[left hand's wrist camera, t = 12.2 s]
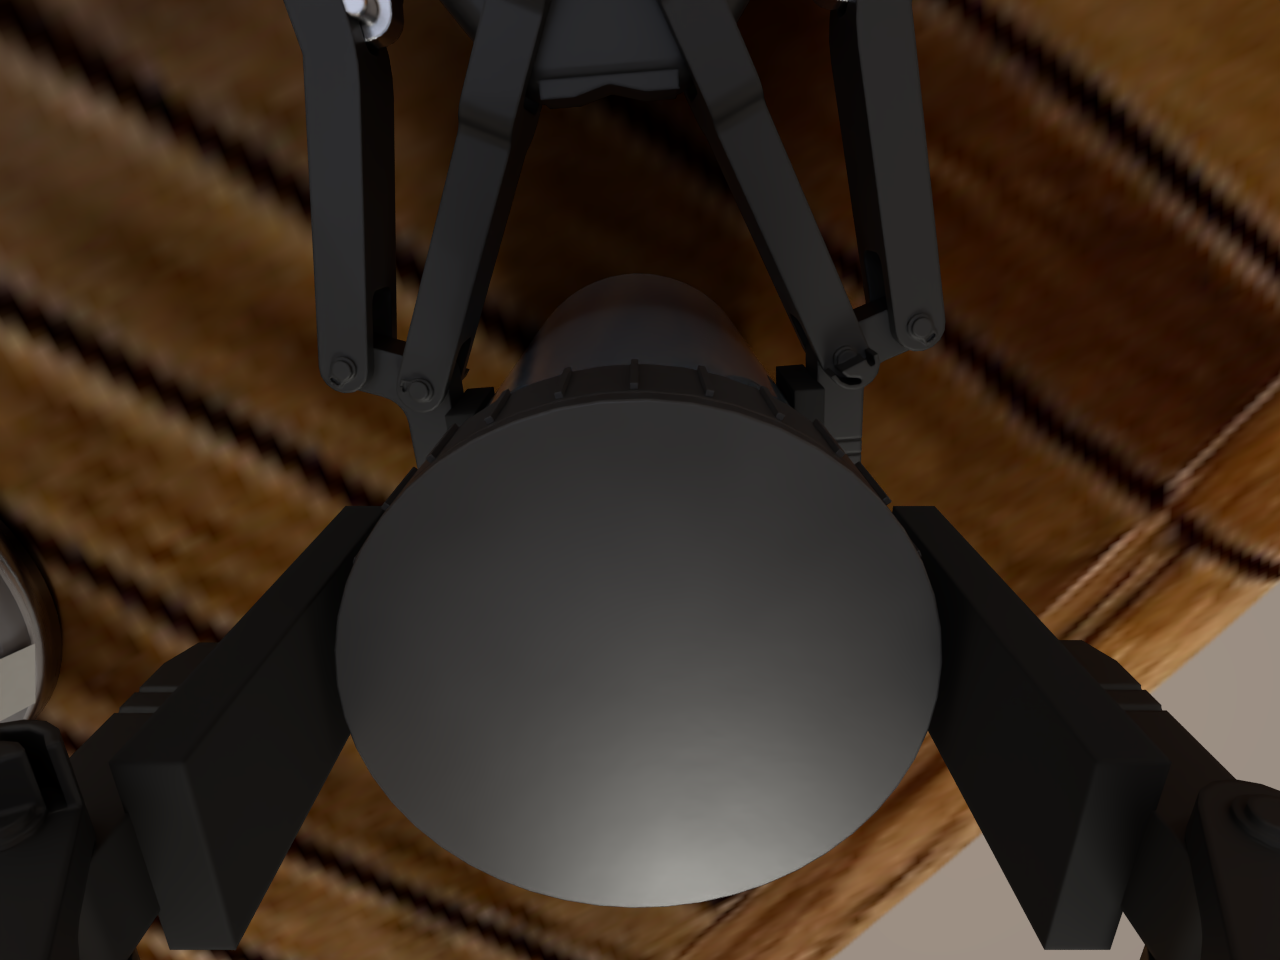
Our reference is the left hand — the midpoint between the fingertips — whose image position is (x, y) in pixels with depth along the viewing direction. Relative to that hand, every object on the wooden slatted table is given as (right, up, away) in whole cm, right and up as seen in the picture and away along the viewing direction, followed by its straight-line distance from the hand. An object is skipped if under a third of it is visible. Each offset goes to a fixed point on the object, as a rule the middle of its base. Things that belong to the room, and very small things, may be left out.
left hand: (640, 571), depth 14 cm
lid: (0, -1, -3) cm, 3 cm away
